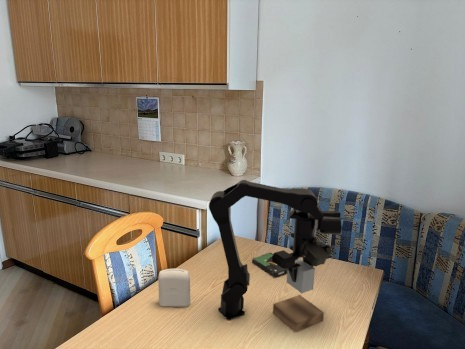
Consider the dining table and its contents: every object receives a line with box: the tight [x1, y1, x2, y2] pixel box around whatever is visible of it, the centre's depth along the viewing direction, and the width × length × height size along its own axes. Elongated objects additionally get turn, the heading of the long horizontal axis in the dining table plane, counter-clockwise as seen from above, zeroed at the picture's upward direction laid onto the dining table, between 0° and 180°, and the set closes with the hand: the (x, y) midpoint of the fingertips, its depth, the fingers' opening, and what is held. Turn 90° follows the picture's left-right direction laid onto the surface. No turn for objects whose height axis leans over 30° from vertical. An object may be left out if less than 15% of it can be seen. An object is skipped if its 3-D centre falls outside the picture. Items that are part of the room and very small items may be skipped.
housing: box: [286, 258, 316, 294], centre depth 108 cm, size 7×4×7 cm, turn 31°
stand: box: [272, 294, 325, 333], centre depth 111 cm, size 11×11×3 cm
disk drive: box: [251, 252, 288, 279], centre depth 143 cm, size 10×3×15 cm
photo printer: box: [157, 268, 191, 308], centre depth 115 cm, size 10×4×12 cm, turn 90°
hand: (300, 279), depth 109 cm, fingers closed on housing, 4 cm apart
